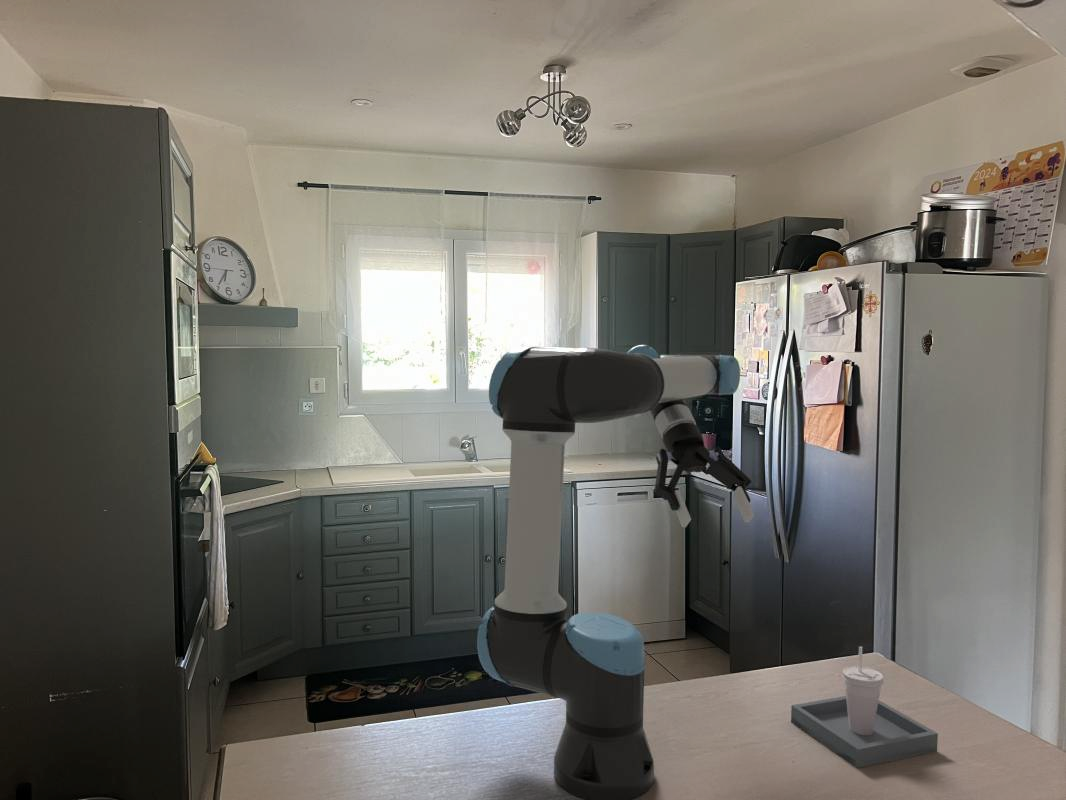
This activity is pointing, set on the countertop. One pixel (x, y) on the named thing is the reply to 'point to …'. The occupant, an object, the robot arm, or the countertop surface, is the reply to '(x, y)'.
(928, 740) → the tray
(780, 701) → the countertop surface
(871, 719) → the smoothie
